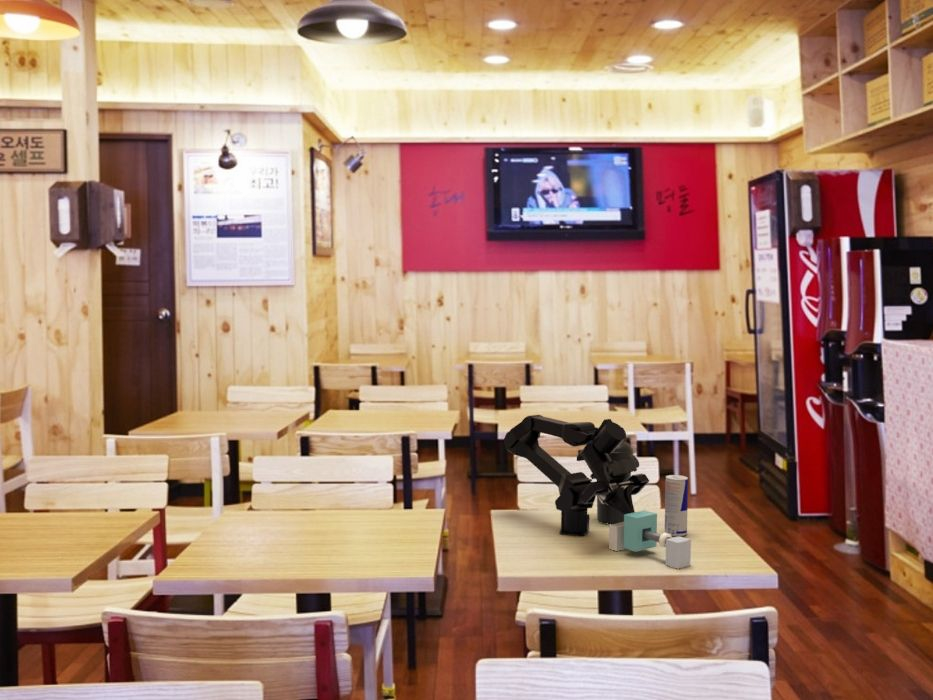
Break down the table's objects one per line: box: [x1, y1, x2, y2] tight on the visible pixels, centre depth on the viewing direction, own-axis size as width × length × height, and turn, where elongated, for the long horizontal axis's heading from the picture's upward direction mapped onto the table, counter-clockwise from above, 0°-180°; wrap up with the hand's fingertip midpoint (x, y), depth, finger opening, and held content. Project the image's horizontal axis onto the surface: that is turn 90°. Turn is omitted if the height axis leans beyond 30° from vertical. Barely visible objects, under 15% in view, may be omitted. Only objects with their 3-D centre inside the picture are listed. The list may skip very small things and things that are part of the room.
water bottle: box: [596, 437, 634, 525], centre depth 242 cm, size 10×10×23 cm
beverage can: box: [664, 474, 689, 537], centre depth 230 cm, size 6×6×15 cm
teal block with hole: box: [624, 509, 658, 552], centre depth 213 cm, size 4×7×8 cm, turn 127°
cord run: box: [608, 522, 692, 570], centre depth 211 cm, size 20×7×7 cm, turn 37°
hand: (633, 517), depth 215 cm, fingers closed, pressing on teal block with hole
